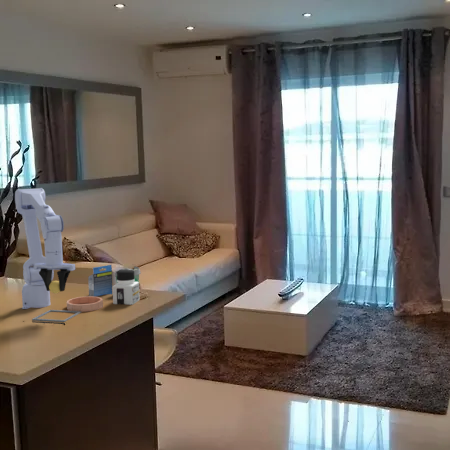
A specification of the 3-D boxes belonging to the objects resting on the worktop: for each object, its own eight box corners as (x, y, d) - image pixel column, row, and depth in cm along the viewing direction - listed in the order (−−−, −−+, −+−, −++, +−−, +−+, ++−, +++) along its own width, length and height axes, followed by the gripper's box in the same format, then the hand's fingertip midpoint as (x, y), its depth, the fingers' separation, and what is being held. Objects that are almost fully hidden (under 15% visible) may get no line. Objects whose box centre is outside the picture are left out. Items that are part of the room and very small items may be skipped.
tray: (32, 322, 206) (32, 318, 205) (50, 313, 217) (50, 309, 217) (64, 324, 203) (64, 320, 203) (81, 314, 214) (81, 311, 214)
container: (132, 306, 224) (131, 271, 222) (113, 306, 225) (111, 271, 224) (139, 301, 231) (138, 267, 230) (120, 300, 233) (119, 267, 231)
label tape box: (107, 293, 246) (106, 263, 245) (113, 294, 243) (112, 264, 242) (88, 297, 240) (87, 266, 238) (94, 298, 237) (93, 267, 236)
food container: (127, 298, 237) (126, 272, 236) (115, 296, 240) (114, 271, 239) (147, 291, 247) (146, 267, 246) (136, 290, 251) (135, 266, 249)
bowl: (60, 313, 217) (60, 304, 217) (77, 304, 229) (76, 295, 229) (93, 314, 214) (93, 305, 214) (108, 305, 226) (108, 297, 226)
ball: (46, 294, 207) (46, 281, 207) (53, 291, 212) (52, 279, 211) (58, 294, 206) (57, 282, 206) (65, 291, 210) (64, 279, 210)
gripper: (28, 252, 205) (30, 292, 207) (67, 253, 202) (69, 294, 203) (39, 249, 212) (41, 287, 213) (77, 250, 208) (79, 289, 210)
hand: (55, 290), depth 209 cm, fingers closed on ball, 4 cm apart
